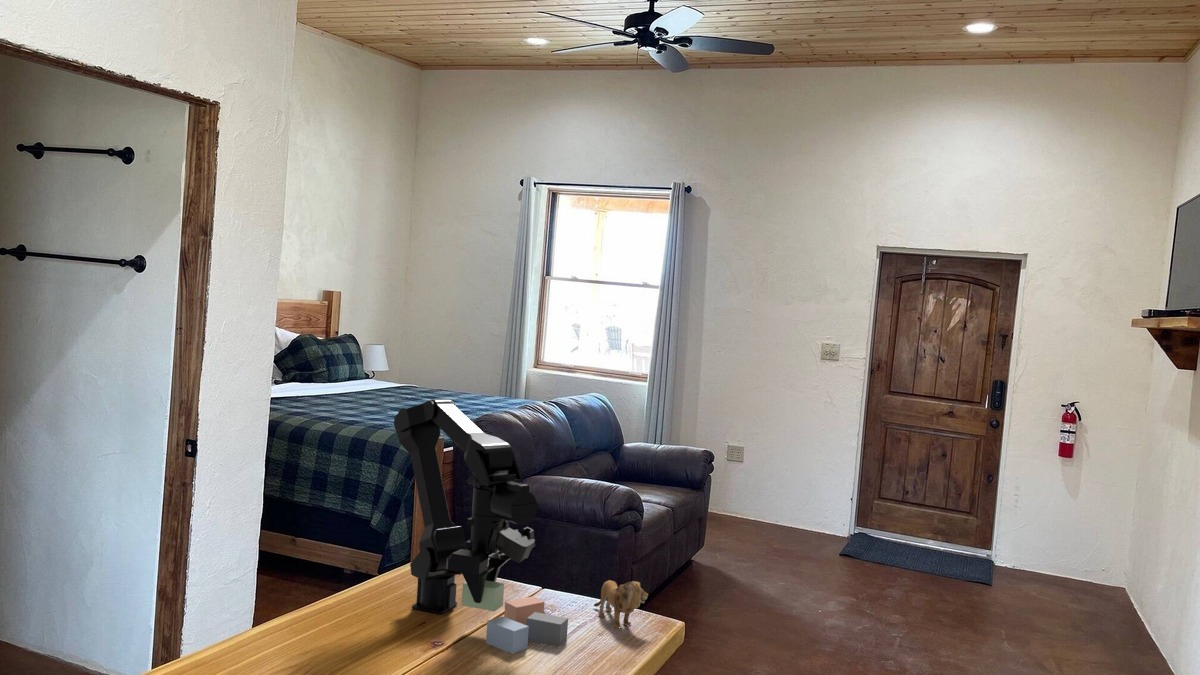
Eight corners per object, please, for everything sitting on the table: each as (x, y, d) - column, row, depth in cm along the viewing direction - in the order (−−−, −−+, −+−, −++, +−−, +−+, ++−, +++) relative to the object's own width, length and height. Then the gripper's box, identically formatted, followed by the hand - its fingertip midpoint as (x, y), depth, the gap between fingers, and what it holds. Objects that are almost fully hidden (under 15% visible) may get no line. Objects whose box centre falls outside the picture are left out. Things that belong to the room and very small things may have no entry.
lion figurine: (649, 631, 172) (652, 583, 172) (626, 635, 169) (629, 586, 169) (604, 606, 184) (607, 561, 184) (581, 610, 181) (585, 564, 181)
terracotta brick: (515, 629, 169) (516, 607, 168) (503, 623, 171) (505, 601, 171) (543, 623, 173) (544, 601, 173) (531, 617, 176) (532, 596, 175)
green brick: (461, 605, 165) (462, 583, 165) (470, 599, 168) (472, 577, 168) (494, 611, 163) (495, 589, 163) (502, 605, 166) (504, 583, 166)
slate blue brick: (485, 643, 161) (487, 620, 160) (500, 638, 163) (502, 616, 163) (512, 654, 157) (514, 631, 156) (527, 649, 159) (528, 626, 159)
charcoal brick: (525, 640, 163) (526, 618, 163) (533, 634, 167) (534, 612, 167) (559, 647, 161) (560, 624, 161) (566, 640, 165) (568, 618, 165)
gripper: (507, 530, 154) (501, 623, 154) (549, 509, 171) (544, 592, 172) (447, 521, 157) (441, 612, 158) (494, 501, 175) (489, 582, 176)
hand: (482, 599), depth 166 cm, fingers closed on green brick, 4 cm apart
